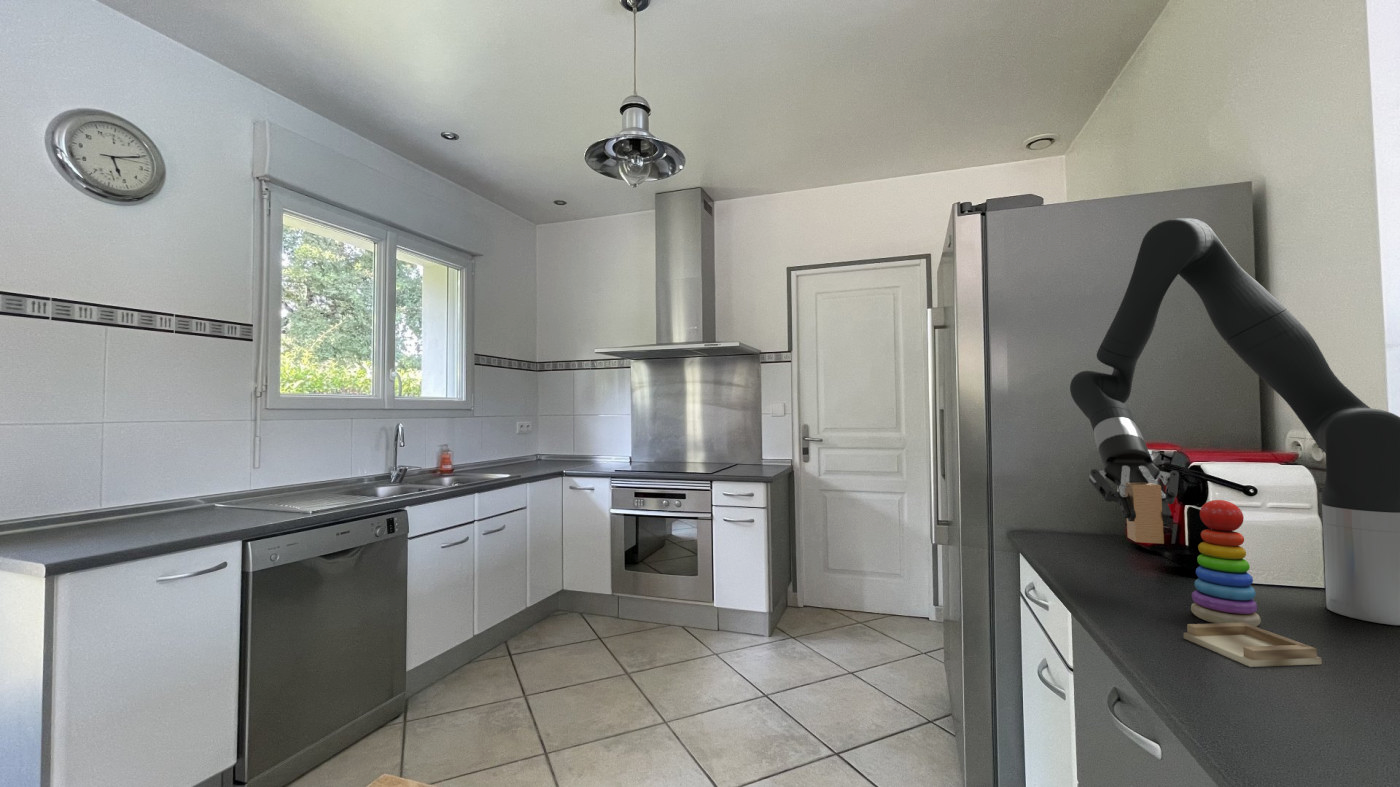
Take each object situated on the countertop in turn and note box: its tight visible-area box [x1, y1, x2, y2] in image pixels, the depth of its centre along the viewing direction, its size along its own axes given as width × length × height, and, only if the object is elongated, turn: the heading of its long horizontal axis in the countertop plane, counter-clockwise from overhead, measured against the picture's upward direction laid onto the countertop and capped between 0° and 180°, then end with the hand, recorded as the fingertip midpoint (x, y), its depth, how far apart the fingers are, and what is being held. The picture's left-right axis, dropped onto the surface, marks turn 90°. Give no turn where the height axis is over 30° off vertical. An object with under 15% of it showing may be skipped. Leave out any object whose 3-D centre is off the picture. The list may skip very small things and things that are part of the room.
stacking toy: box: [1190, 499, 1262, 627], centre depth 87 cm, size 8×8×19 cm
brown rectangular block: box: [1126, 482, 1165, 545], centre depth 98 cm, size 4×4×10 cm
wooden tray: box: [1183, 623, 1322, 668], centre depth 76 cm, size 10×9×2 cm
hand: (1148, 519), depth 96 cm, fingers closed on brown rectangular block, 4 cm apart
